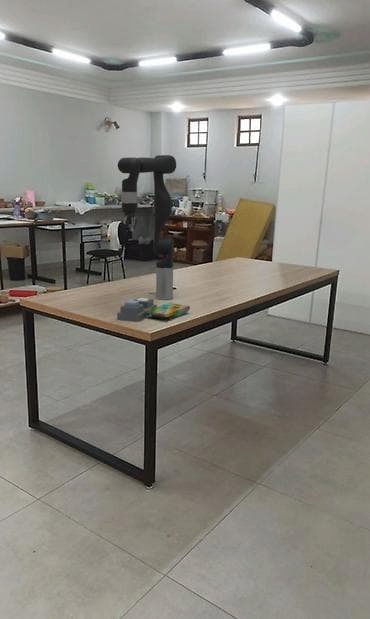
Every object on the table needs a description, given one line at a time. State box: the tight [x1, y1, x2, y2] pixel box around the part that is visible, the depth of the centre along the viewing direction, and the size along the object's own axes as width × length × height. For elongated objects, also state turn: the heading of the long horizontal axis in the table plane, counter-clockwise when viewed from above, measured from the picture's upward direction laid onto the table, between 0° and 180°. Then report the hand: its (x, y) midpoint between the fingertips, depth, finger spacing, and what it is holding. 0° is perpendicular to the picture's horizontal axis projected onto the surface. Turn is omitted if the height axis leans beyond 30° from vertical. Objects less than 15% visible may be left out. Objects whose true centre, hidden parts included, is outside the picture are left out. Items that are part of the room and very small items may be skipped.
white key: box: [136, 297, 151, 302], centre depth 230 cm, size 5×5×3 cm
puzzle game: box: [145, 302, 191, 321], centre depth 225 cm, size 12×5×20 cm
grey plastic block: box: [116, 297, 158, 323], centre depth 225 cm, size 22×11×6 cm, turn 162°
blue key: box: [124, 299, 139, 308], centre depth 218 cm, size 5×5×3 cm
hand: (130, 239), depth 226 cm, fingers closed
